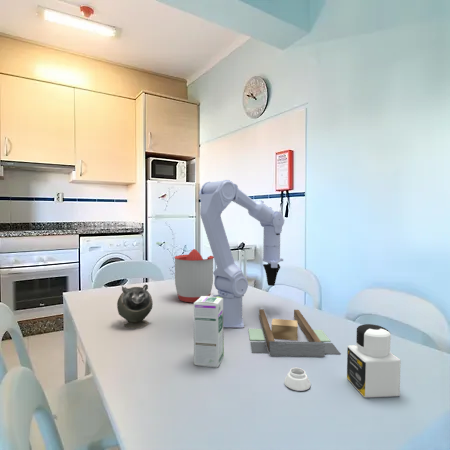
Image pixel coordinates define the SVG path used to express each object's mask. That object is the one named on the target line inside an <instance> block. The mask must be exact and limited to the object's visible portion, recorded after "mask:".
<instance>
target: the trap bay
mask: <svg viewBox="0 0 450 450" xmlns="http://www.w3.org/2000/svg"><path fill="white" fill-rule="evenodd" d="M249 344H250V349H251V353H252V354H269V356H270V357H307V358H308V357H309V358H311V357H312V358H314V357H315V358H316V357H317V358H319V357H320V358H321V357H322V358H325V355H341V352H340V350H339V349H337V347H336V346H335V344H334V343H332V342H309V341H291V340H288V341H287V340H285V341H283V340H282V341H281V340H280V341H279V340H277V341H276V340H275V341H269V350H268V347H267V343H266V341H250V343H249Z"/></svg>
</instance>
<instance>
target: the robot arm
mask: <svg viewBox="0 0 450 450" xmlns="http://www.w3.org/2000/svg"><path fill="white" fill-rule="evenodd" d="M198 196H199V199H200V209H199V211H200V213H199V214H200V215H199V216H200V218H201V221H202V224H203V228H204V231H205V234H206V237H207V240H208V243H209V247H210V249H211V253H212V256H214V258H213V261H214V262H215V266H216V269H214V270H213V284H214V285H213V286H214V287H215V289H216V290H217V294H213V295H212V296H217V297H223V328H234V329H235V328H236V329H237V328H239V329H242V328H244V327H245V324H244V318H243V297H244V296H245V294H246V292H247V290H248V288H249V282H248V279H247V277H245V275H244V274H243V270H242V269H241V268H240V267H239V266H238V265H236V263H235V260H234V257H233V254H232V249H231V247H230V243H229V240H228V237H227V233H226V230H225V229H226V228H225V227H224V223H223V220H222V216H221V215H222V213H223V211H225V210H226V208H227V207H228V206H229V205H230V204H231V203H232V202H234V203H235V204H236V205H239V206H240V207H242V208H244V209H246V210H247V213H248V215H249V216H250V217H252V218H253V219H255V220H257V221H258V222H259V224H260V226H261V227H262V228H263V238H262V239H263V244H262V245H263V247H262V249H263V250H262V251H263V252H262V253H263V255H262V262H264V263H263V264H262V266H263V268H264V270H265V277H266V281H267V286H268V287H269V286H270V287H273V286H275V284H276V282H277V281H276V280H277V275H278V272H279V271H280V269H281V266H280V264H279V263H280V262H284V258H281V233H282V232H283V226H284V224H285V218H284V215H283V214H282V213H281V212H280V211H278V210H274V209H273V208H272V207H270V206H268V205H266V204H265V202H264V200H261V199H259V200H258V199H256V200H254V199H253V198H251V197H250V196H248V194H246V193H245V192H244V191H242V189H240V188H239V187H238V184H236V183H234V182H233V181H231V180H230V179H223V180H218V181H207V182H204V183H203V185H202V186H201V188H200V189H199V191H198ZM265 263H267V264H265Z"/></svg>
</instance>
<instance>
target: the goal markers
mask: <svg viewBox="0 0 450 450" xmlns="http://www.w3.org/2000/svg"><path fill="white" fill-rule="evenodd" d="M247 331H248V337H249V341H250V342H266V339H265V336H264V332H263V329H262V328H248V330H247ZM313 331H314V332H315V334H316V335H317V336H318V338H319V339H320V341H321V342H323V343H332V342H331V340H330V338H329V337H328V336H327V335H326V333H325V332H324V330H323V329H313Z"/></svg>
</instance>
